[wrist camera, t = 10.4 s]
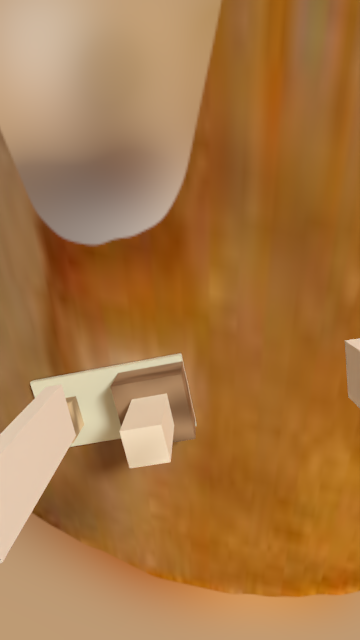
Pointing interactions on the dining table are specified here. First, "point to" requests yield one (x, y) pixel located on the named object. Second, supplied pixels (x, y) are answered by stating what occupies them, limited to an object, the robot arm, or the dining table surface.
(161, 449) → the white block
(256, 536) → the dining table surface
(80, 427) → the oak cube
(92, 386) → the build board
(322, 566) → the dining table surface
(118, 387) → the plinth
